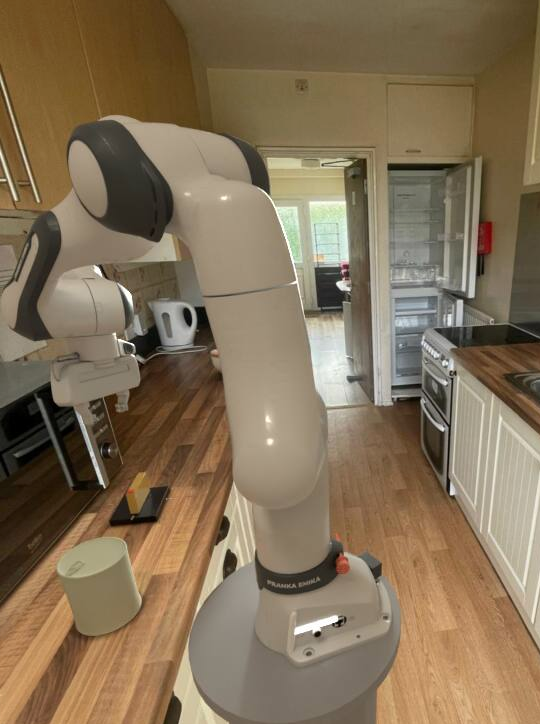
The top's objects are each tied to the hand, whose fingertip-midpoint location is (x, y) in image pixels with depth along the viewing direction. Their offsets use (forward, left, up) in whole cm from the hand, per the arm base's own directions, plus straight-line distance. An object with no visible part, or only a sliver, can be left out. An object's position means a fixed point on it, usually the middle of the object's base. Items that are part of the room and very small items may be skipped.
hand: (107, 417), depth 88 cm
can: (-6, +32, -22) cm, 39 cm away
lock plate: (-3, +2, -22) cm, 22 cm away
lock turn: (-3, +2, -20) cm, 20 cm away
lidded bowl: (-11, -102, -22) cm, 105 cm away
